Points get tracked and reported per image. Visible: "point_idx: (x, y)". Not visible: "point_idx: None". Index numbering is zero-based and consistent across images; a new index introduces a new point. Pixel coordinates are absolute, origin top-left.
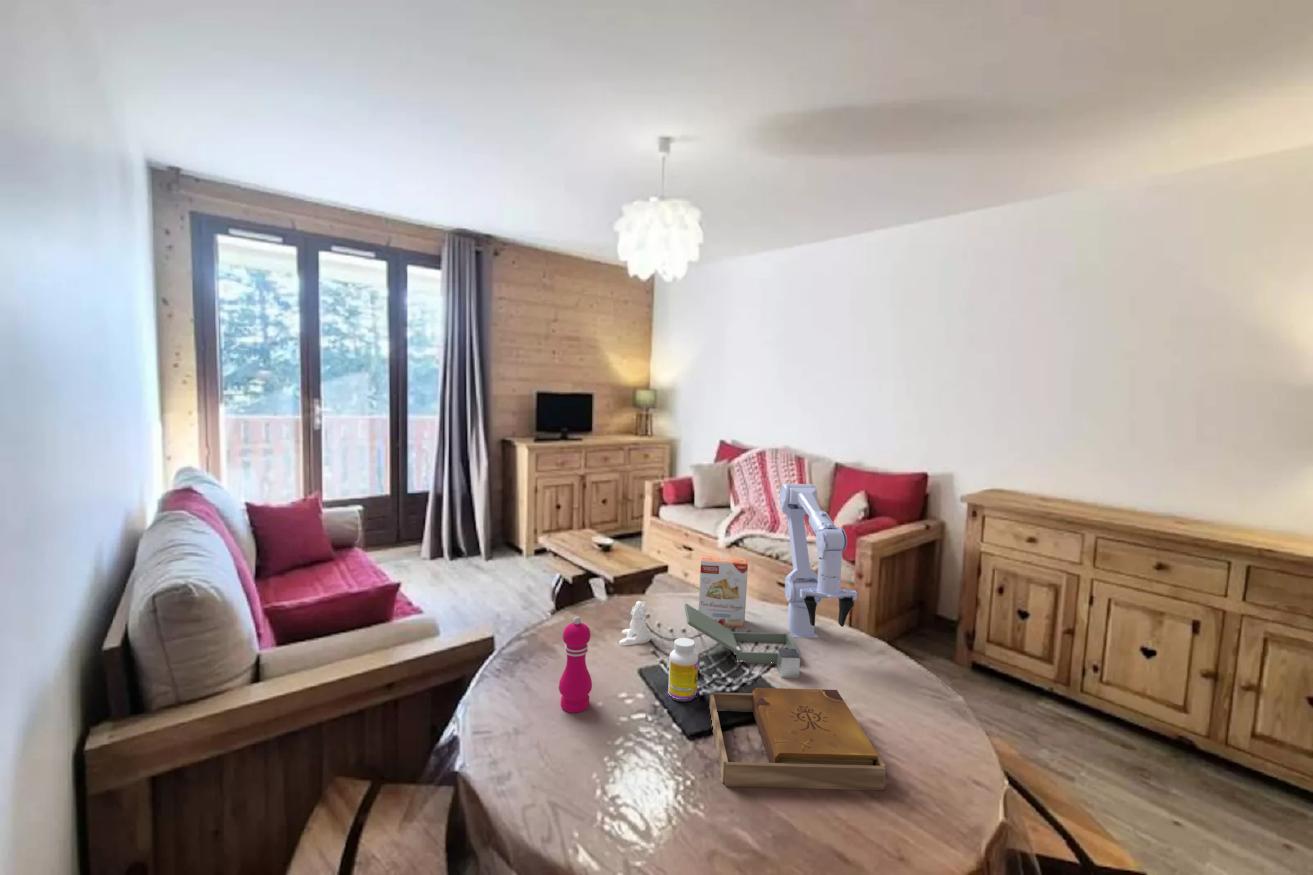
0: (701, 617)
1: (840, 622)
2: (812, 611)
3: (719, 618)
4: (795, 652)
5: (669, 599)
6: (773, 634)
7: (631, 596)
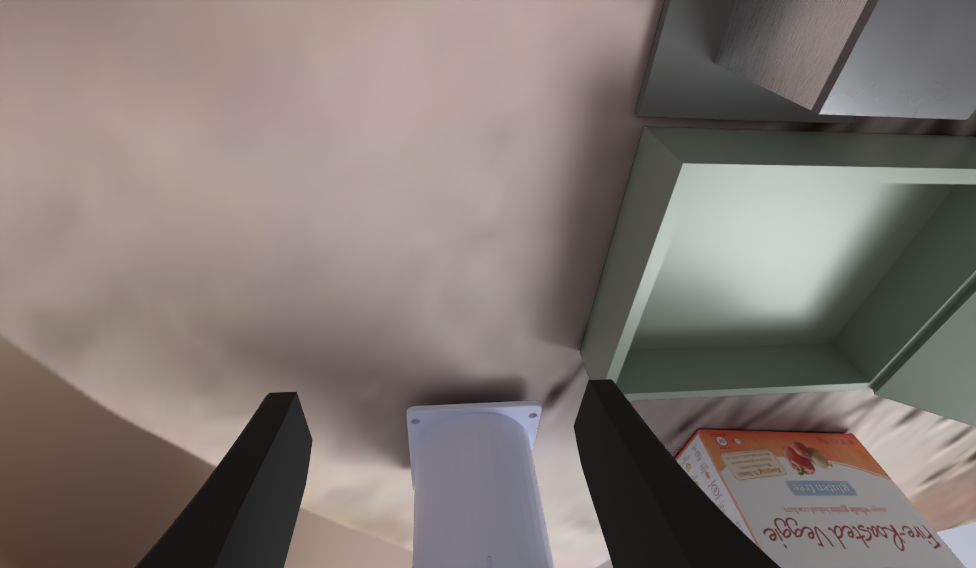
0: None
1: (293, 440)
2: (721, 541)
3: (818, 474)
4: (885, 26)
5: None
6: (673, 390)
7: None
